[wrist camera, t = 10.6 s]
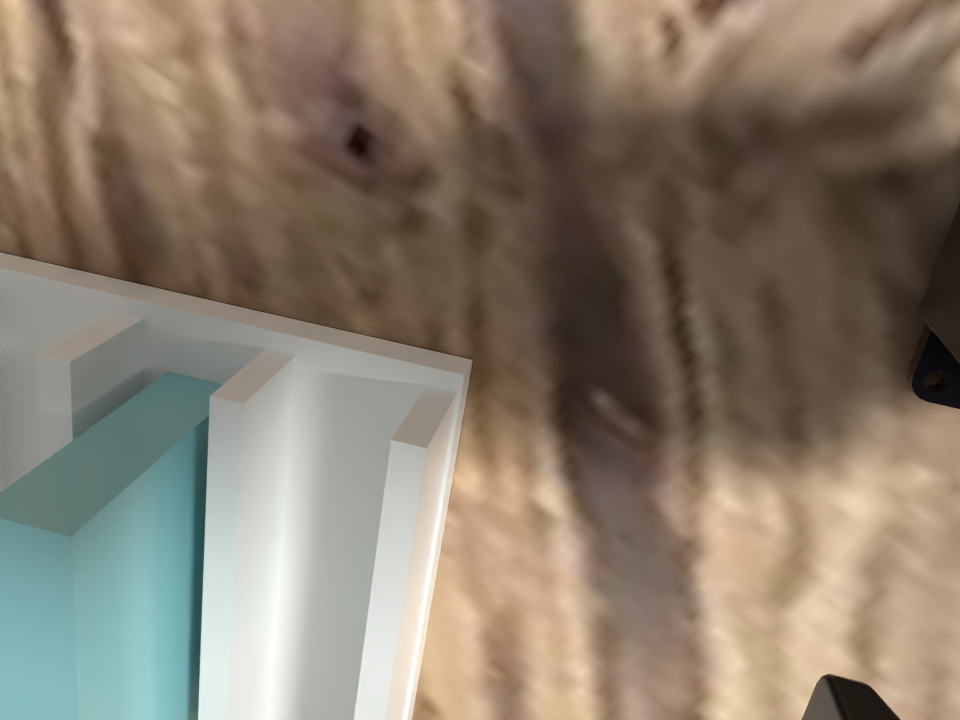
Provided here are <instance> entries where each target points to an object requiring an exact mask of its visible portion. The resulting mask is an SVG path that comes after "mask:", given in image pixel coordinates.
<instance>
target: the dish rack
mask: <svg viewBox="0 0 960 720" xmlns="http://www.w3.org/2000/svg"><path fill="white" fill-rule="evenodd" d="M472 362H473V360H471V359H466V358H462V357H457V356H453V355H449V354H444V353H440V352H435V351H431V350H427V349H422V348H418V347H413V346H409V345H405V344H400V343H396V342H392V341H387V340H383V339H378V338H374V337H370V336H365V335H361V334H356V333H352V332H348V331H343V330H339V329H334V328H330V327H326V326H321V325H317V324H313V323H308V322H304V321H299V320H295V319H291V318H286V317H282V316H277V315H273V314H269V313H264V312H260V311H255V310H251V309H247V308H242V307H238V306H234V305H229V304H225V303H220V302H216V301H212V300H207V299H203V298H198V297H194V296H190V295H185V294H181V293H176V292H172V291H168V290H163V289H159V288H155V287H150V286H146V285H141V284H137V283H133V282H128V281H124V280H119V279H115V278H111V277H106V276H102V275H97V274H93V273H89V272H84V271H80V270H76V269H71V268H67V267H62V266H58V265H54V264H49V263H45V262H40V261H36V260H32V259H27V258H23V257H18V256H14V255H10V254H5V253H1V252H0V493H1V492H2V491H3V490H5V489H6V488H8V487H9V486H10V485H12V484H13V483H15V482H16V481H17V480H19V479H20V478H21V477H23V476H24V475H26V474H27V473H28V472H30V471H31V470H32V469H34V468H35V467H37V466H38V465H39V464H41V463H42V462H44V461H45V460H46V459H48V458H49V457H50V456H52V455H53V454H55V453H56V452H57V451H59V450H60V449H62V448H63V447H64V446H66V445H67V444H68V443H70V442H71V441H73V440H74V439H75V438H77V437H78V436H80V435H81V434H82V433H84V432H85V431H86V430H88V429H89V428H91V427H92V426H93V425H95V424H96V423H97V422H99V421H100V420H102V419H103V418H104V417H106V416H107V415H109V414H110V413H111V412H113V411H114V410H115V409H117V408H118V407H120V406H121V405H122V404H124V403H125V402H127V401H128V400H129V399H131V398H132V397H133V396H135V395H136V394H138V393H139V392H140V391H142V390H143V389H145V388H146V387H147V386H149V385H150V384H151V383H153V382H154V381H156V380H157V379H158V378H160V377H161V376H163V375H164V374H165V373H167V372H168V371H169V372H173V373H177V374H181V375H186V376H190V377H194V378H198V379H203V380H207V381H211V382H215V383H219V384H223V385H222V386H221V387H220V388H219V389H217V390H216V391H215V392H214V393H213V394H211V395H210V406H209V433H208V460H207V488H206V515H205V543H204V570H203V598H202V625H201V653H200V680H199V708H198V720H412V716H413V710H414V704H415V698H416V692H417V686H418V680H419V674H420V668H421V663H422V657H423V651H424V645H425V639H426V633H427V627H428V621H429V615H430V609H431V604H432V598H433V592H434V586H435V580H436V574H437V568H438V562H439V556H440V550H441V545H442V539H443V533H444V527H445V521H446V515H447V509H448V503H449V497H450V491H451V486H452V480H453V474H454V468H455V462H456V456H457V450H458V444H459V438H460V432H461V427H462V421H463V415H464V409H465V403H466V397H467V391H468V385H469V379H470V373H471V368H472Z"/></svg>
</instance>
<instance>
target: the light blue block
mask: <svg viewBox="0 0 960 720" xmlns="http://www.w3.org/2000/svg"><path fill="white" fill-rule="evenodd" d="M222 385H223V384H219V383H215V382H211V381H207V380H203V379H198V378H194V377H190V376H186V375H181V374H177V373H173V372H169V371H168V372H167V373H165V374H164V375H163V376H161V377H160V378H158V379H157V380H156V381H154V382H153V383H151V384H150V385H149V386H147V387H146V388H145V389H143V390H142V391H140V392H139V393H138V394H136V395H135V396H133V397H132V398H131V399H129V400H128V401H127V402H125V403H124V404H122V405H121V406H120V407H118V408H117V409H115V410H114V411H113V412H111V413H110V414H109V415H107V416H106V417H104V418H103V419H102V420H100V421H99V422H97V423H96V424H95V425H93V426H92V427H91V428H89V429H88V430H86V431H85V432H84V433H82V434H81V435H80V436H78V437H77V438H75V439H74V440H73V441H71V442H70V443H68V444H67V445H66V446H64V447H63V448H62V449H60V450H59V451H57V452H56V453H55V454H53V455H52V456H50V457H49V458H48V459H46V460H45V461H44V462H42V463H41V464H39V465H38V466H37V467H35V468H34V469H32V470H31V471H30V472H28V473H27V474H26V475H24V476H23V477H21V478H20V479H19V480H17V481H16V482H15V483H13V484H12V485H10V486H9V487H8V488H6V489H5V490H3V491H2V492H1V493H0V720H198V708H199V680H200V653H201V625H202V598H203V570H204V543H205V515H206V488H207V460H208V433H209V406H210V395H211V394H213V393H214V392H215V391H216V390H217V389H219V388H220V387H221V386H222Z"/></svg>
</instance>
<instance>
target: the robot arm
mask: <svg viewBox="0 0 960 720" xmlns="http://www.w3.org/2000/svg"><path fill="white" fill-rule="evenodd" d="M919 312H920V314H921V316H922V318H923V319H924V321H925V323H926V326H925V329H924V331H923V334H922V337H921V339H920V342H919V344H918V347H917V349H916V352H915V354H914V357H913V359H912V362H911V365H910V367H909V370H908V375H907V380H908V383H909V386H910V387H911V389H912V390H913V392H914V393H915V394H916V395H917V396H918V397H919V398H920V399H922V400H925V401H927V402H931V403H936V404H940V405H945V406H949V407H954V408H958V409H960V205H959V207H958V210H957V212H956V215H955V217H954V220H953V223H952V225H951V228H950V230H949V233H948V236H947V238H946V241H945V243H944V246H943V249H942V251H941V254H940V256H939V259H938V261H937V264H936V267H935V269H934V272H933V274H932V277H931V280H930V282H929V285H928V287H927V290H926V292H925V295H924V298H923V300H922V303H921V305H920V308H919ZM937 371H940V372H942V373H943V378H942V379H941V380H940V382H939V383H937V384H935V385H925V384H924V379H925V377H926V376H927V375H928V374H930V373H932V372H937ZM802 720H900V719H899V717H898V716H897V715H896V714H895V713H894V712H893V711H892V710H891V709H890V707H889V706H888V705H887V704H886V703H885V702H884V701H883V700H882V698H881V697H880V696H879V695H878V694H877V693H876V692H875V691H874V690H873V689H872V688H871V687H870V686H869V685H867V684H865V683H863V682H860V681H856V680H852V679H848V678H844V677H840V676H836V675H832V674H827V675H824V676H822V677H821V678H820V680H819V681H818V682H817V684H816V686H815V688H814V691H813V693H812V696H811V698H810V701H809V703H808V706H807V708H806V711H805V713H804V715H803V718H802Z"/></svg>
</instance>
